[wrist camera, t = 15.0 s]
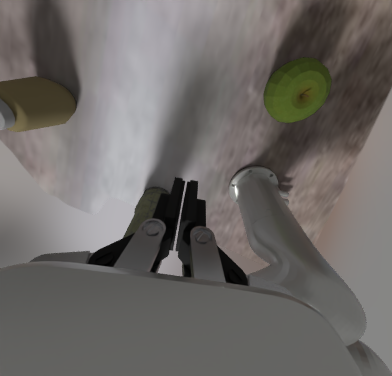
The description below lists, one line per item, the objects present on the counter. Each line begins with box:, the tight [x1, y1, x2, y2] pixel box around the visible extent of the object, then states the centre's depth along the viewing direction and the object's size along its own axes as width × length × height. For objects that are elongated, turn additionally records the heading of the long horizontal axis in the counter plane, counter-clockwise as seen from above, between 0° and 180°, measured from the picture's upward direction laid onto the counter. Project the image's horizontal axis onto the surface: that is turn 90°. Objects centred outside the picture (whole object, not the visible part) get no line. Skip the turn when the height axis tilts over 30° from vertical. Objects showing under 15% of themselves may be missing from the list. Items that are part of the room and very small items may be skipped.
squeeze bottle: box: [0, 76, 76, 132], centre depth 26 cm, size 8×8×18 cm
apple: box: [264, 57, 332, 123], centre depth 26 cm, size 9×8×12 cm
